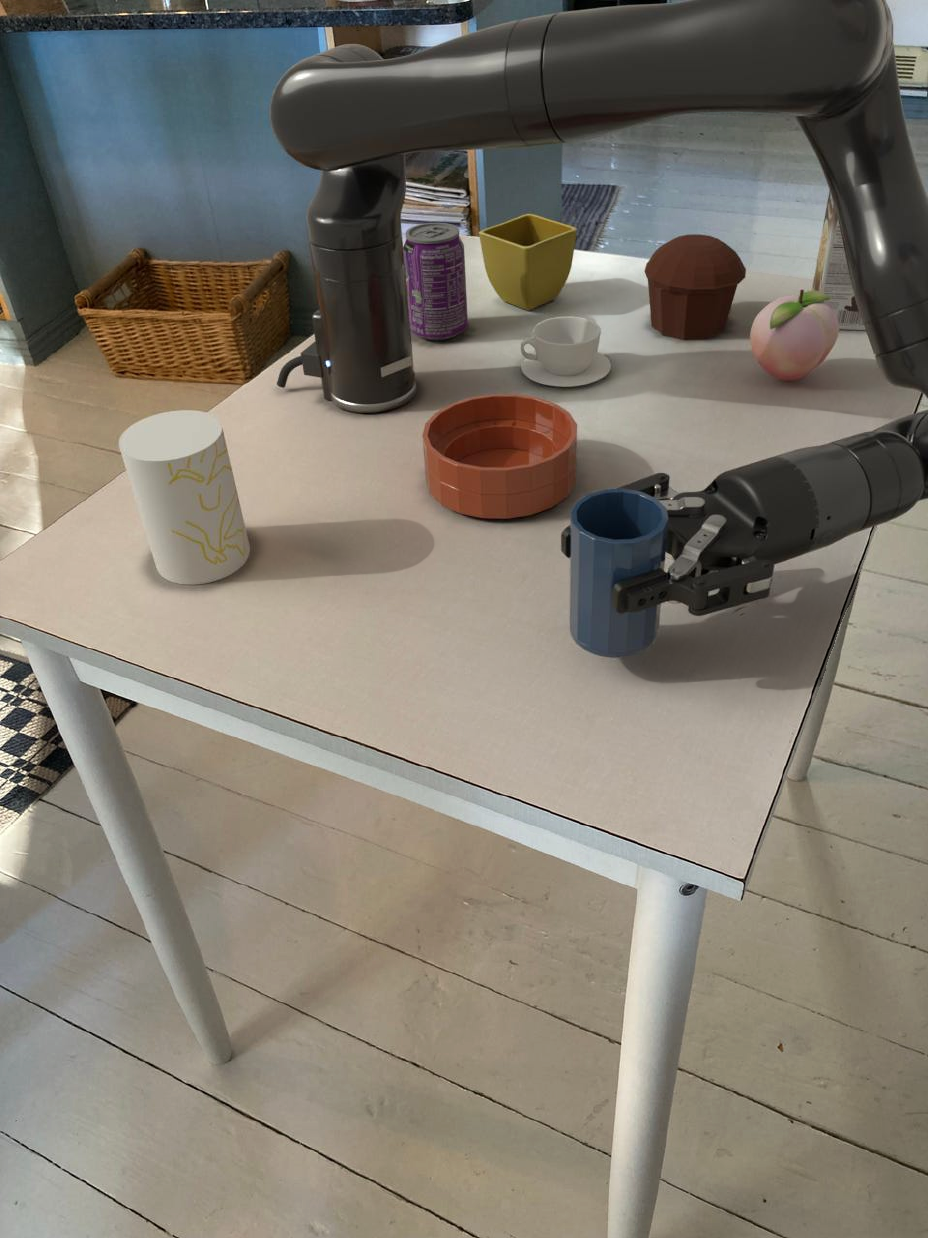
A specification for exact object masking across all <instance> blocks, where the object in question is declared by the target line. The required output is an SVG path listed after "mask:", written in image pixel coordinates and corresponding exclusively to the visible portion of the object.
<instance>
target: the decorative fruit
mask: <svg viewBox="0 0 928 1238" xmlns="http://www.w3.org/2000/svg"><path fill="white" fill-rule="evenodd" d="M825 300H830V298H829V296H827V295H826V294H824V293H823V292H820V291H812V290H807V291H805V289H800V291H799V295H785V296H781V297H779V298H777V299H775V300H773V301H771V302H769V303H768V304H767V305H766V306H764V307H763V308H762V309H761V310H760V312H758V313H757V315H756V316H755V317H754V320H753V322H752V325H751V328H750V334H749V341H750V347H751V351H752V353H753V354H752V355H753V356H754V358H755V359H756V361H757V364H758V365H759V366H760V367H761V368H762V370H764V371H765V372H766V373H767V374H769V376H772V377H774V378H775V379H779V380H781V381H785V382H791V381H792V382H793V381H797V380H798V379H801V378H802V379H803V377H805V376H807V375H809V373H812V371H813V370H815V369H816V368H817V367H819V366H820V365H821V364H822V363H823V362H824V361H825V360H826V358H827V357H828V355H829V354H830V352H832V349H833V347H834V346H835V344H836V343H837V340H838V337H839V334H840V329H839V323H838V319H837V317H836V314H835V312H834V311H833V309H832V308H831V307H830V306H829V305H828V304H826V303H825V302H824V301H825Z"/></svg>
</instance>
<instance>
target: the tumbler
mask: <svg viewBox="0 0 928 1238" xmlns="http://www.w3.org/2000/svg"><path fill="white" fill-rule="evenodd" d="M569 519H570V520H569V525H570V558H569V583H568V584H569V585H568V586H569V590H568V628H569V629H568V630H569V634H570V637H571V638H572V640H573V642H574V643H575V644H576V645H577V646H578V647H579V648H581V649H582V650H584V651H586V652H588V653H589V654H593V655H594V656H595V655H596V656H599V657H604V658H610V659H611V658H615V659H618V658H627V657H628V658H629V657H632V656H635V655H638V654H640V653H643V652H644V651H646V650H647V649H649V648H650V647H651V646H653V644H654V643H655V641H656V639H657V636H658V632H659V629H660V621H661V607H662V603H661V604H658V605H655V606H653V607H649V608H647V609H644V610H641V611H638V612H626V613H623V614H619V613H618V612H617V611H616V610H615V609H614V608H613V607H612V589H613V587H614V585H615V584H616V583H618V582H620V581H623V580H626V579H629V578H632V577H635V576H638V575H641V574H644V573H648V572H650V571H653V570H656V569H659V568H662V569H663V570H664V571H665V564H666V554H667V552H666V543H667V531H668V520H669V518H668V514H667V509H666V508H665V507H664V506H663V505H662V504H661V503H660V502H659V501H658V500H657V499H656V498H654V497H652V496H650V495H647V494H645V493H643V492H639V491H634V490H628V489H617V488H607V489H601V490H598V491H594V492H590V493H588V494H586V495H584V496H583V497H581V498H580V499H578V500H577V501H575V503H574V505H573V506H572V508H571V509H570V514H569Z"/></svg>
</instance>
